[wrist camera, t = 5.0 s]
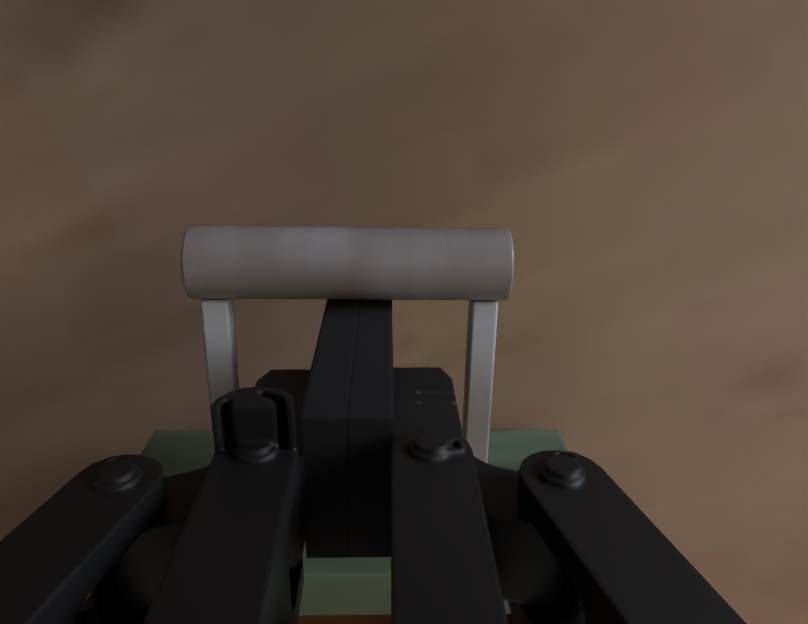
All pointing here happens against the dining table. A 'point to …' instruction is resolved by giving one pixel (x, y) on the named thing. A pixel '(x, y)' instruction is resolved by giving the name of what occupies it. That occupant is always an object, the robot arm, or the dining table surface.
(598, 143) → the dining table surface
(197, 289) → the drawer
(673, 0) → the dining table surface
